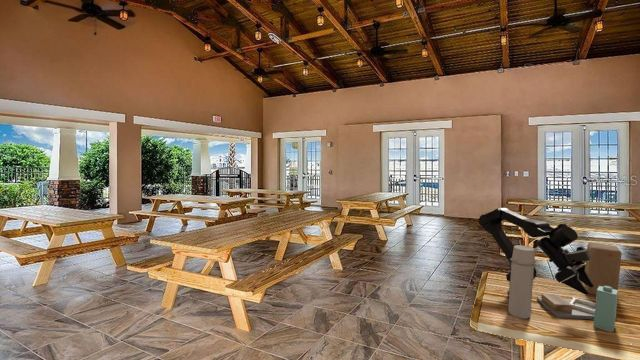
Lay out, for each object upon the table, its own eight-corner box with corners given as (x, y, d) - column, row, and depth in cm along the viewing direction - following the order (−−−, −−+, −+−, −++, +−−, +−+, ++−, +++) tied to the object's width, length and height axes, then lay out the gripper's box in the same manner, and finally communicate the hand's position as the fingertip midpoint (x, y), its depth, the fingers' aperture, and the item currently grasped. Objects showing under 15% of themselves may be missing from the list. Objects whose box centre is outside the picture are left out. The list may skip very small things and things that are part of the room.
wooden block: (617, 299, 138) (622, 251, 136) (586, 294, 143) (590, 247, 141) (612, 291, 147) (617, 245, 145) (583, 285, 152) (587, 241, 150)
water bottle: (534, 321, 120) (539, 251, 118) (509, 318, 123) (513, 249, 120) (527, 309, 129) (531, 244, 127) (503, 306, 131) (507, 242, 129)
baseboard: (557, 317, 123) (557, 310, 123) (537, 299, 137) (537, 294, 137) (616, 320, 121) (617, 314, 121) (589, 302, 135) (590, 296, 135)
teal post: (593, 326, 117) (597, 287, 116) (595, 321, 121) (599, 283, 119) (612, 332, 114) (616, 291, 112) (614, 326, 117) (618, 287, 116)
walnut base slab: (554, 310, 126) (554, 304, 126) (541, 299, 135) (541, 293, 134) (571, 311, 125) (572, 305, 125) (557, 300, 134) (558, 294, 134)
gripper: (568, 245, 115) (608, 286, 108) (580, 235, 128) (616, 272, 121) (540, 262, 122) (576, 302, 115) (554, 251, 134) (587, 287, 127)
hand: (590, 290), depth 119 cm, fingers open, 9 cm apart
